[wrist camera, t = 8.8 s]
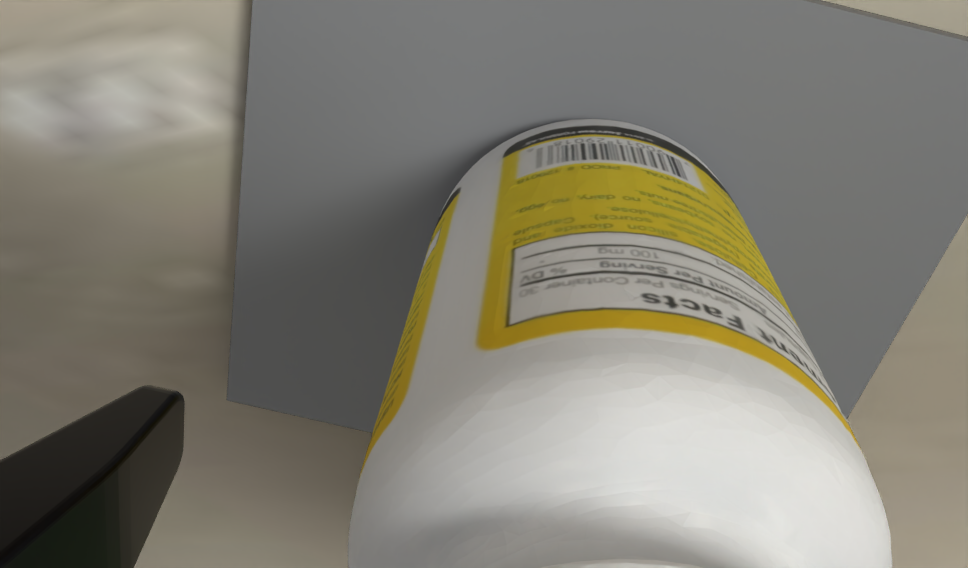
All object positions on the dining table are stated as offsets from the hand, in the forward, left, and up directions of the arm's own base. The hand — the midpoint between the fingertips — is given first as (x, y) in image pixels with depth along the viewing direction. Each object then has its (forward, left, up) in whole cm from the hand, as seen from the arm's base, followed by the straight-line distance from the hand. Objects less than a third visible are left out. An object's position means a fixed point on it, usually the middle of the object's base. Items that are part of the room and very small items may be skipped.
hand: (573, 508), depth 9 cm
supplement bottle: (0, 0, -6) cm, 6 cm away
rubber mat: (0, 0, -7) cm, 7 cm away
